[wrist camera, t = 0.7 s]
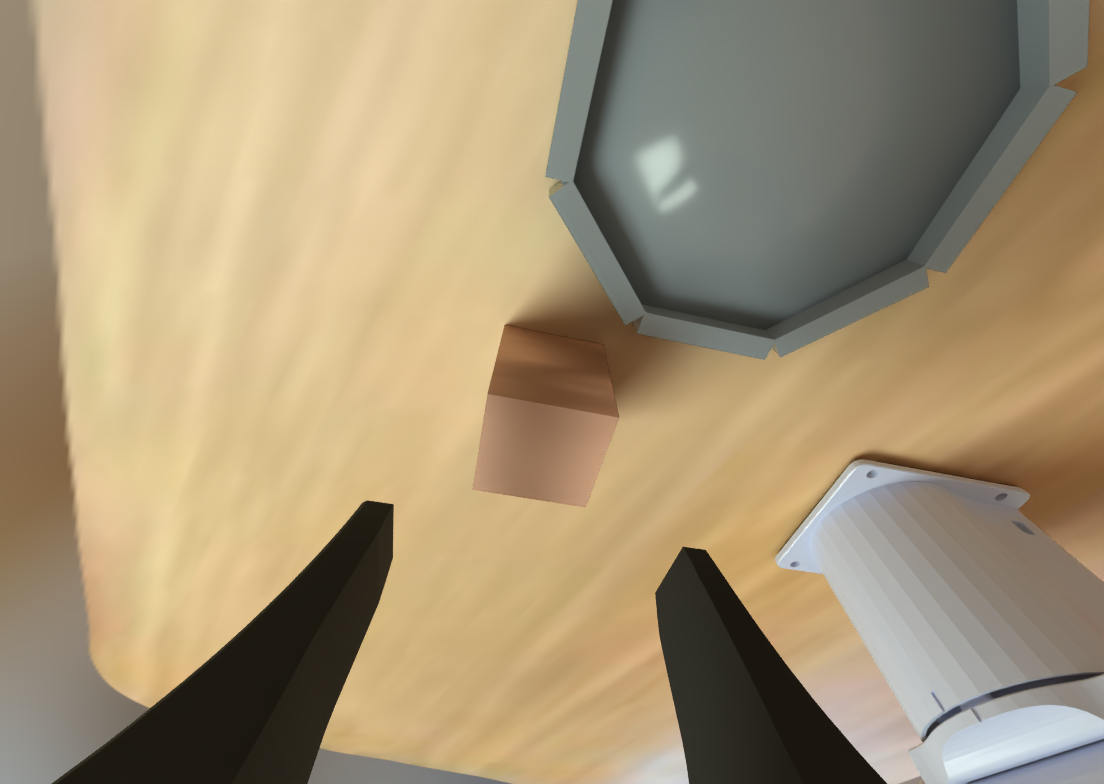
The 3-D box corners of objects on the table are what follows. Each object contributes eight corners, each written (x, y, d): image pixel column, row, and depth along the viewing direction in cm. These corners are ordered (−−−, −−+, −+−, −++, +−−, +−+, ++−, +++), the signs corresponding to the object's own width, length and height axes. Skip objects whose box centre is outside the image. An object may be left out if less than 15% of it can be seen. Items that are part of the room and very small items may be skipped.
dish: (1148, -107, 10) (1250, -147, 9) (839, 357, 17) (867, 380, 16) (633, -300, 9) (650, -388, 7) (524, 291, 16) (520, 309, 14)
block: (603, 343, 17) (619, 417, 13) (578, 422, 19) (585, 507, 15) (505, 324, 16) (487, 394, 12) (491, 406, 19) (472, 489, 14)
